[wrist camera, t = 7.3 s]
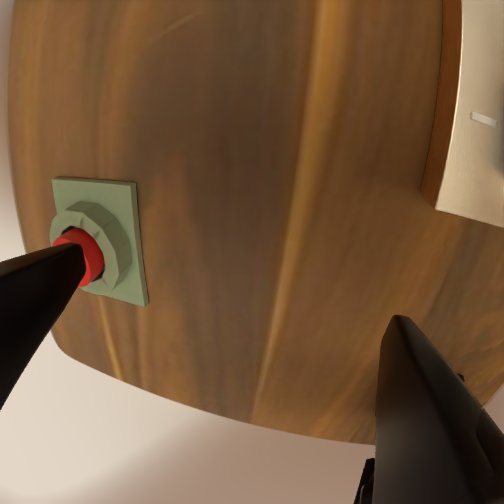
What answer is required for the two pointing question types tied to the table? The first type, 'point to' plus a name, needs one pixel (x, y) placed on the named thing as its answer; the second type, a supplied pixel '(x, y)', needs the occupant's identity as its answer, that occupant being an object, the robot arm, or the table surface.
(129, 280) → the switch block
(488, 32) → the panel
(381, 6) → the table surface
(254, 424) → the table surface
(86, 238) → the button
